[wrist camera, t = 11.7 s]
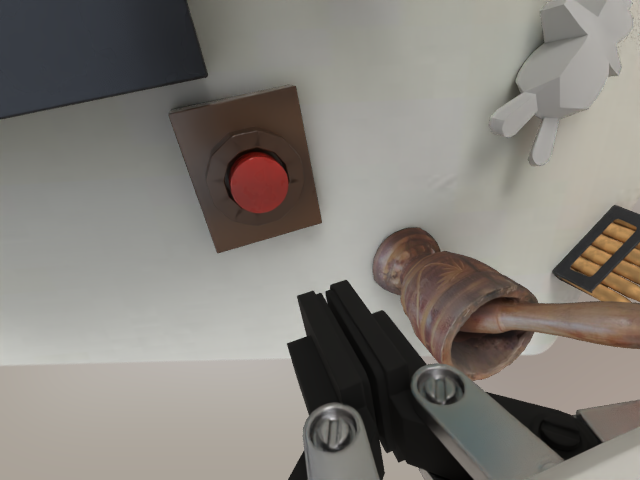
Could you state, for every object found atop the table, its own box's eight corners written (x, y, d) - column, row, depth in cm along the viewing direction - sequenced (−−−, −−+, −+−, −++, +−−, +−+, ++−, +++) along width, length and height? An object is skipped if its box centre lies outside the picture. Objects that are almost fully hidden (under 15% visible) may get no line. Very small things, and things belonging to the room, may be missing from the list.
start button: (221, 159, 26) (223, 165, 24) (276, 145, 26) (281, 150, 25) (237, 211, 28) (239, 220, 26) (288, 197, 28) (294, 204, 27)
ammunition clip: (557, 278, 47) (660, 338, 37) (551, 272, 46) (654, 331, 36) (620, 212, 45) (746, 255, 35) (614, 204, 44) (742, 246, 34)
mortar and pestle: (410, 179, 35) (621, 289, 18) (471, 210, 39) (697, 327, 21) (353, 281, 38) (486, 462, 20) (415, 301, 41) (573, 469, 24)
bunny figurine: (668, 20, 31) (569, 178, 33) (605, 32, 36) (521, 171, 37) (618, -65, 27) (507, 122, 29) (554, -39, 31) (462, 121, 33)
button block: (169, 110, 27) (166, 116, 23) (289, 84, 28) (302, 86, 25) (216, 242, 32) (218, 263, 28) (314, 213, 33) (328, 230, 30)
